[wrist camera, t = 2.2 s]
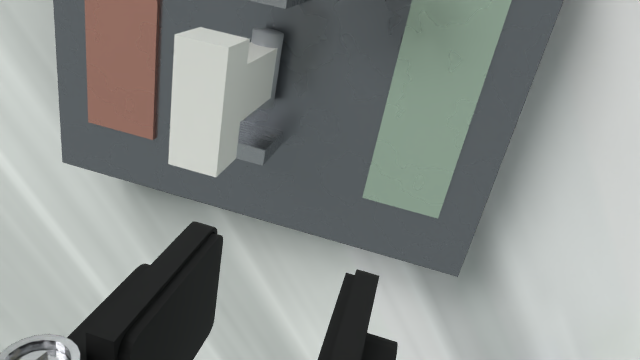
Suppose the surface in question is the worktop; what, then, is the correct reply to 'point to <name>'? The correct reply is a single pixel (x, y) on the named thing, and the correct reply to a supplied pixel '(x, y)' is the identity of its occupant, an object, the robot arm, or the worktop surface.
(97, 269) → the worktop surface
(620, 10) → the worktop surface
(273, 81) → the toggle lever
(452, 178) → the breaker panel
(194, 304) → the robot arm
